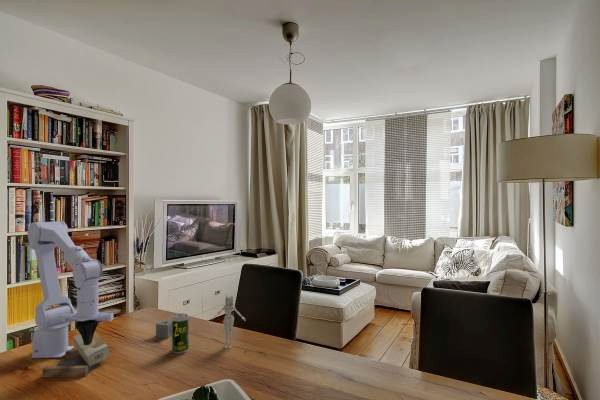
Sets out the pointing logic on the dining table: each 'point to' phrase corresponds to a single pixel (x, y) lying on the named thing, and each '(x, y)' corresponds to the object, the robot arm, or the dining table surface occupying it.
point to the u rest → (69, 366)
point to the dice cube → (164, 329)
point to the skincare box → (91, 349)
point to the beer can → (180, 333)
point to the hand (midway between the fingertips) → (88, 344)
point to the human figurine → (228, 317)
